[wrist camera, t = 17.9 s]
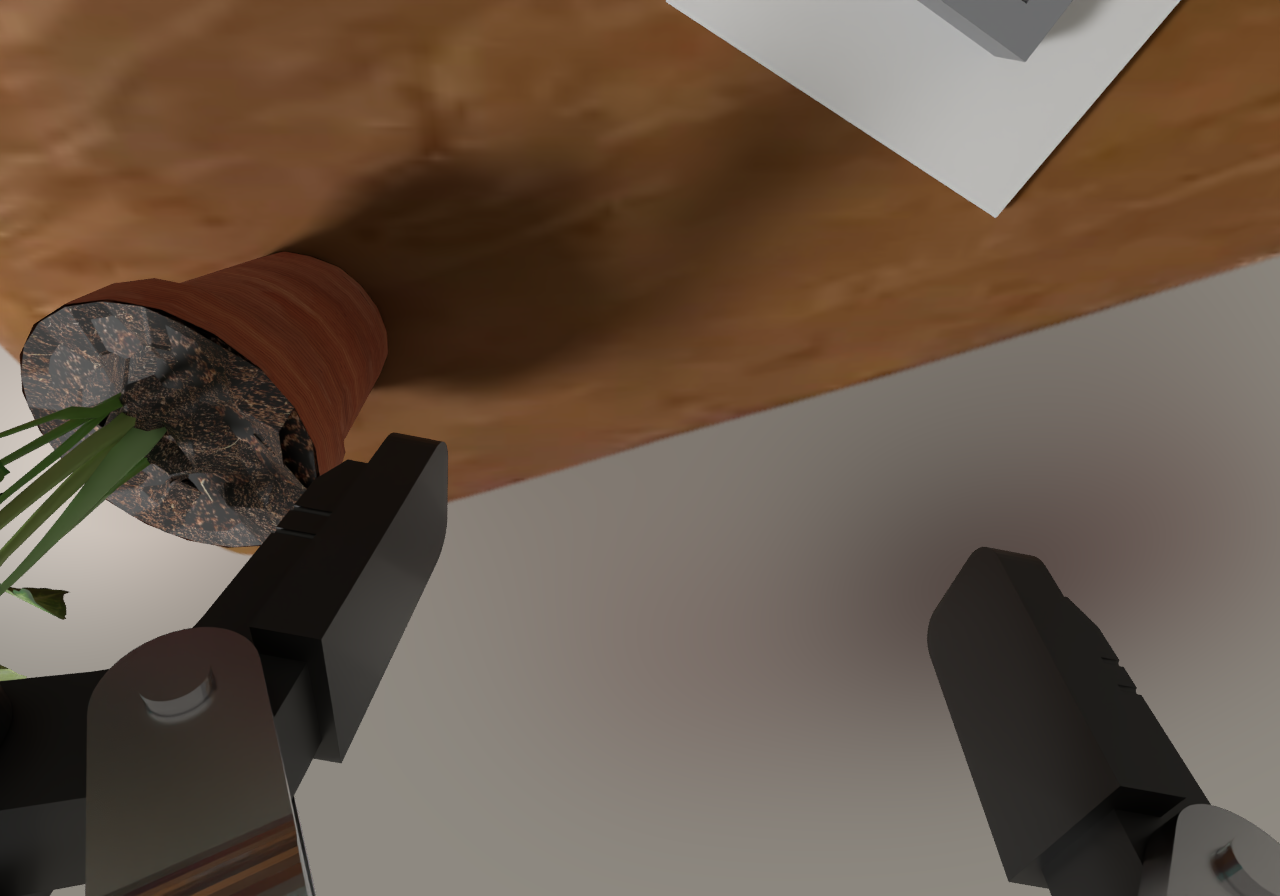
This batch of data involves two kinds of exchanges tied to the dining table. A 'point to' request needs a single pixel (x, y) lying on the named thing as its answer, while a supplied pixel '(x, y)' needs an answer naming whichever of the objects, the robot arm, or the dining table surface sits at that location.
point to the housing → (946, 72)
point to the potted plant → (193, 402)
